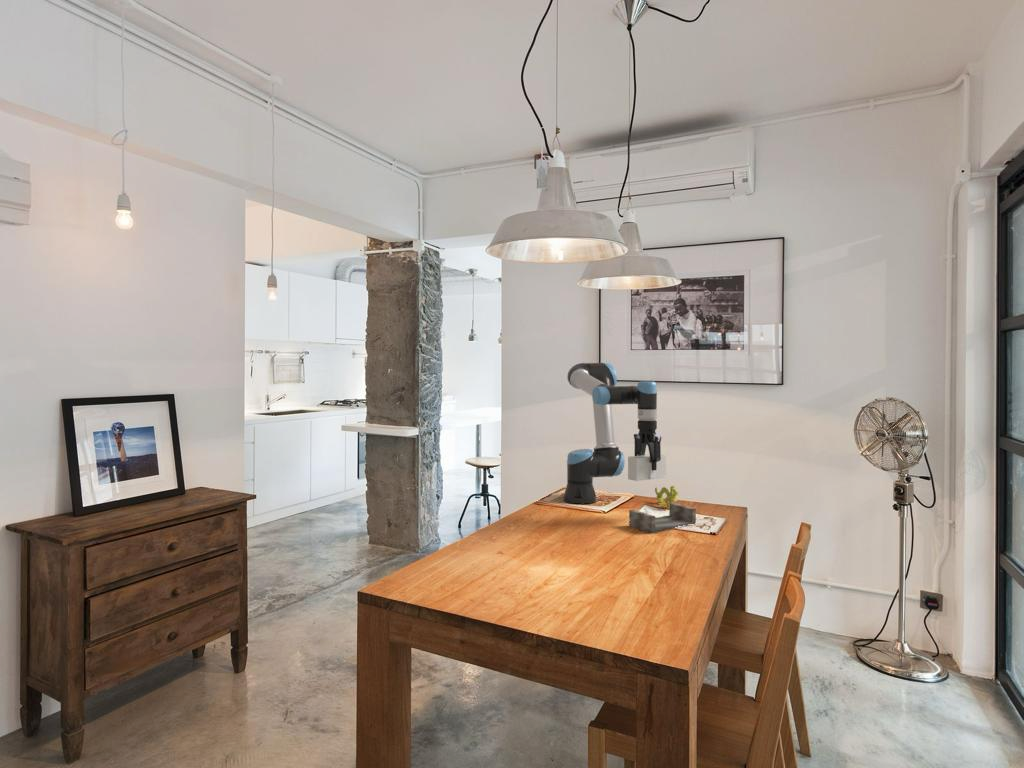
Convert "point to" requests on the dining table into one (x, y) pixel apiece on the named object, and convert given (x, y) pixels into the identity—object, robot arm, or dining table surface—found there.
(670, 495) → the green plant sprig
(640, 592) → the dining table surface
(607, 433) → the robot arm
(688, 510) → the cradle rack
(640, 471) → the light grey block
